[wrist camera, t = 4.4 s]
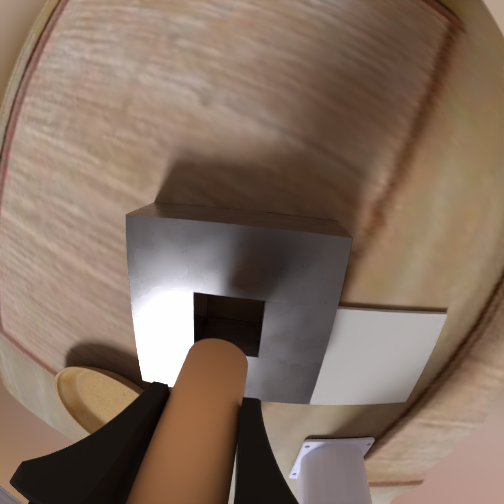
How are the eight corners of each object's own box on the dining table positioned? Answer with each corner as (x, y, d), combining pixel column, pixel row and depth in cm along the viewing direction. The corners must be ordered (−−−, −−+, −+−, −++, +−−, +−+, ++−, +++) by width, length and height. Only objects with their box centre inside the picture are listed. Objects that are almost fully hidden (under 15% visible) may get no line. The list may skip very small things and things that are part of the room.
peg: (247, 387, 14) (223, 554, 5) (189, 380, 14) (135, 535, 5) (249, 341, 13) (217, 539, 4) (184, 335, 13) (104, 509, 4)
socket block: (305, 368, 22) (309, 404, 18) (159, 349, 22) (142, 380, 18) (336, 221, 18) (352, 238, 14) (153, 202, 18) (125, 214, 15)
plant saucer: (85, 422, 29) (77, 435, 26) (51, 337, 24) (37, 350, 22) (188, 453, 28) (183, 470, 26) (177, 372, 23) (169, 392, 21)
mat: (404, 399, 23) (405, 401, 22) (307, 401, 23) (307, 404, 23) (445, 312, 19) (447, 314, 19) (334, 305, 20) (335, 308, 19)
